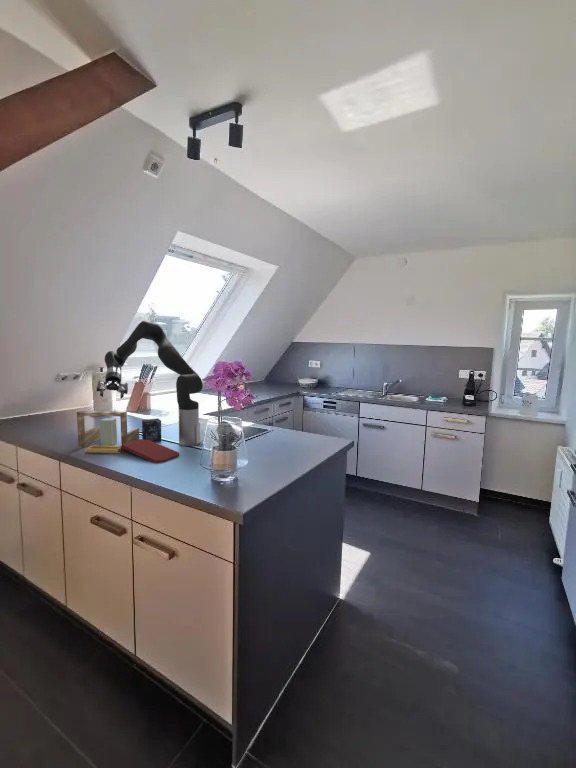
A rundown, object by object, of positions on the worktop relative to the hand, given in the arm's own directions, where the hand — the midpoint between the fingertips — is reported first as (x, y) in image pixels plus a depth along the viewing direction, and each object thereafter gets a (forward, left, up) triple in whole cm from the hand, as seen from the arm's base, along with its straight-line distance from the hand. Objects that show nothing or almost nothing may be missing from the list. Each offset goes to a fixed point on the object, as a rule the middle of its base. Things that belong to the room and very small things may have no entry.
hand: (111, 396), depth 183 cm
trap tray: (-7, +22, -21) cm, 32 cm away
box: (-21, +4, -21) cm, 30 cm away
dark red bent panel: (-28, +25, -22) cm, 43 cm away
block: (-4, +11, -21) cm, 24 cm away
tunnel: (-4, +10, -21) cm, 24 cm away
